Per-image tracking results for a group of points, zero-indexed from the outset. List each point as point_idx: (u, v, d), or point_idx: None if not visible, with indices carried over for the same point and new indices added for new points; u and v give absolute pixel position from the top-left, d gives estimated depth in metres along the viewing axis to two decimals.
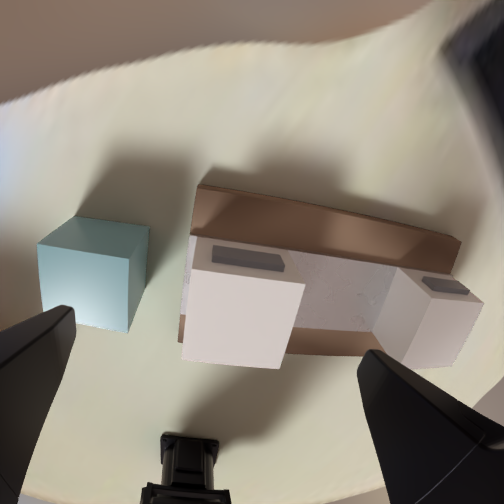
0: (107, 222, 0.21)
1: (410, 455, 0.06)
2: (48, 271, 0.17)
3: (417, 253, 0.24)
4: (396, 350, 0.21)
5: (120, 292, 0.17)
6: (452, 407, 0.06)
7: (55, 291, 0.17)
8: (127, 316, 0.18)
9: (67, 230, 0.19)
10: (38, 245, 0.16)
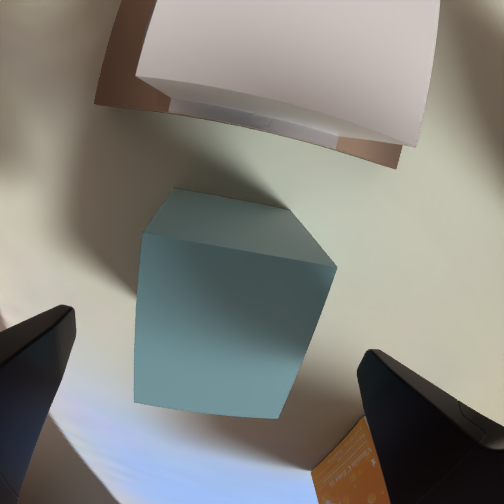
0: None
1: (410, 455, 0.06)
2: (184, 396, 0.10)
3: None
4: None
5: (227, 265, 0.08)
6: (452, 407, 0.06)
7: (227, 393, 0.10)
8: (293, 259, 0.08)
9: None
10: (137, 400, 0.10)
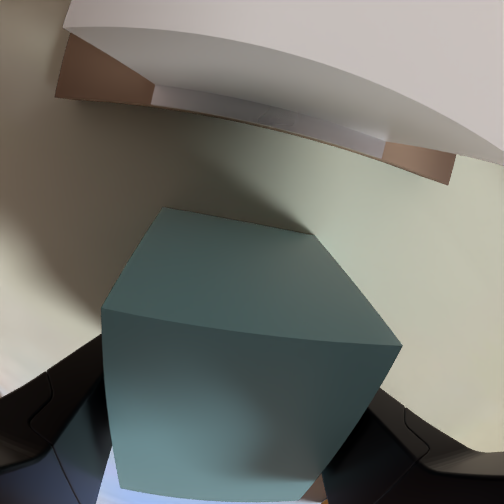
0: None
1: (348, 465, 0.06)
2: (182, 487, 0.06)
3: None
4: None
5: (240, 356, 0.05)
6: (395, 415, 0.06)
7: (237, 485, 0.06)
8: (343, 341, 0.05)
9: None
10: (123, 486, 0.06)
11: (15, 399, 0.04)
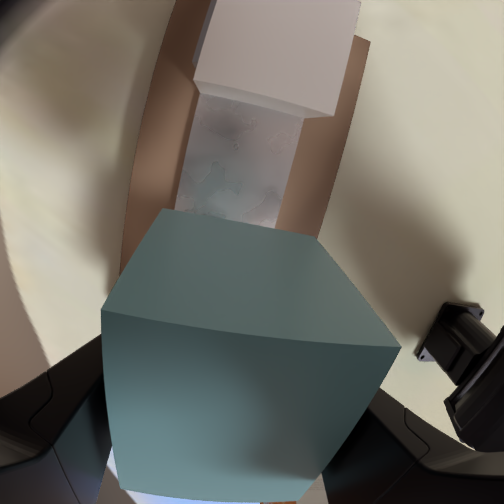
0: None
1: (348, 465, 0.06)
2: (182, 488, 0.06)
3: (188, 59, 0.16)
4: (305, 110, 0.13)
5: (239, 357, 0.05)
6: (395, 415, 0.06)
7: (237, 486, 0.06)
8: (342, 342, 0.05)
9: None
10: (123, 487, 0.06)
11: (15, 399, 0.04)
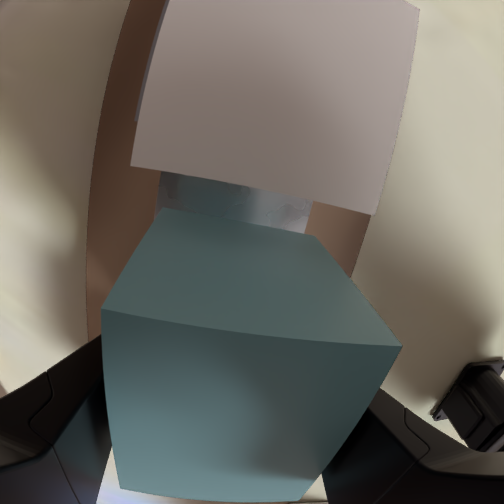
0: None
1: (348, 465, 0.06)
2: (182, 487, 0.06)
3: None
4: None
5: (240, 356, 0.05)
6: (395, 415, 0.06)
7: (237, 485, 0.06)
8: (343, 342, 0.05)
9: None
10: (123, 487, 0.06)
11: (15, 399, 0.04)
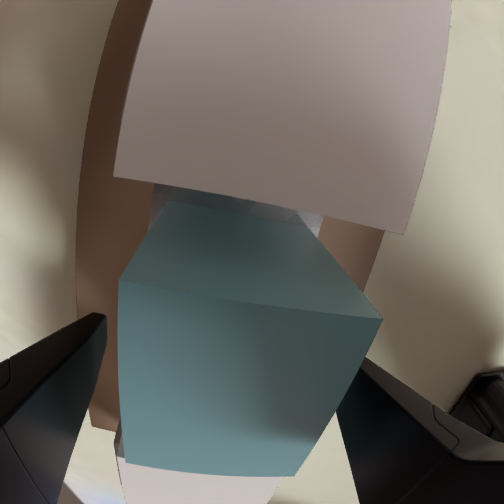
0: None
1: (380, 461, 0.06)
2: (184, 460, 0.07)
3: None
4: None
5: (238, 323, 0.06)
6: (425, 411, 0.06)
7: (235, 457, 0.07)
8: (328, 312, 0.06)
9: None
10: (128, 461, 0.07)
11: None
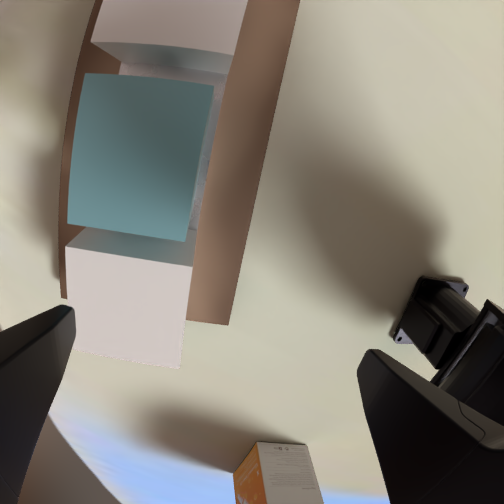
0: None
1: (410, 455, 0.06)
2: (104, 210, 0.12)
3: None
4: (209, 56, 0.12)
5: (135, 87, 0.10)
6: (452, 407, 0.06)
7: (137, 206, 0.12)
8: (181, 81, 0.10)
9: None
10: (69, 221, 0.12)
11: None
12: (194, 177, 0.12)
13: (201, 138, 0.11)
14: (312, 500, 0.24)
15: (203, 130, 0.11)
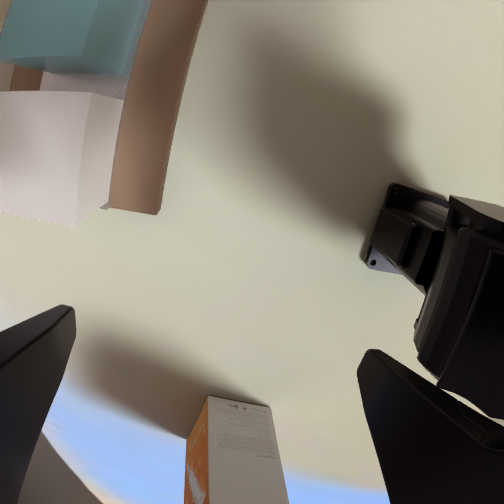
0: None
1: (410, 455, 0.06)
2: (23, 41, 0.09)
3: None
4: None
5: None
6: (452, 407, 0.06)
7: (48, 31, 0.09)
8: None
9: None
10: None
11: None
12: (97, 0, 0.09)
13: None
14: (268, 472, 0.21)
15: None
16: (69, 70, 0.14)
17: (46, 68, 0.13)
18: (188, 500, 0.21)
